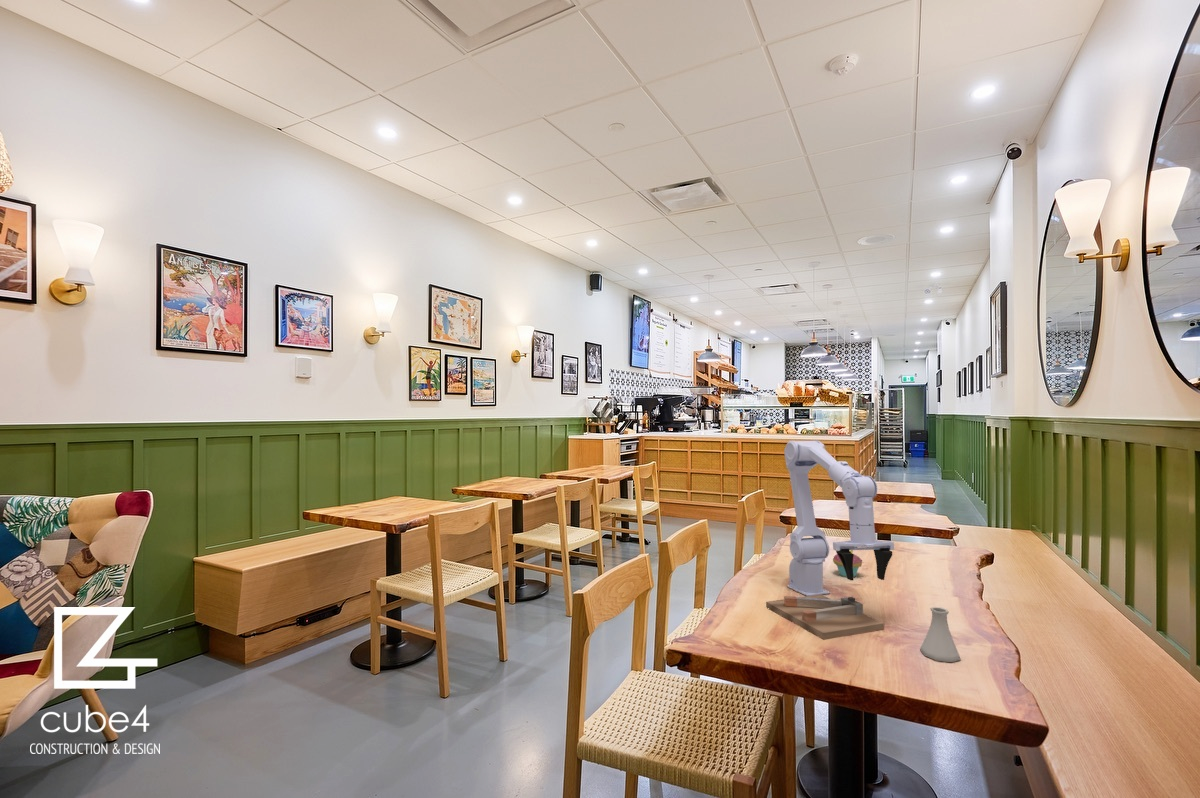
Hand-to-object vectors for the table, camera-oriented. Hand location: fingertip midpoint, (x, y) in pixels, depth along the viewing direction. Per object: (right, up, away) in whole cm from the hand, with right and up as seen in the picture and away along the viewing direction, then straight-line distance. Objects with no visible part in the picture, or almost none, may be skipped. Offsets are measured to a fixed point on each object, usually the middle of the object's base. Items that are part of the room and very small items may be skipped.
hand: (865, 579), depth 139 cm
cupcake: (+13, -12, +39) cm, 42 cm away
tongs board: (-10, -11, +2) cm, 15 cm away
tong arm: (-11, -9, +6) cm, 15 cm away
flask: (+7, -11, -19) cm, 23 cm away
